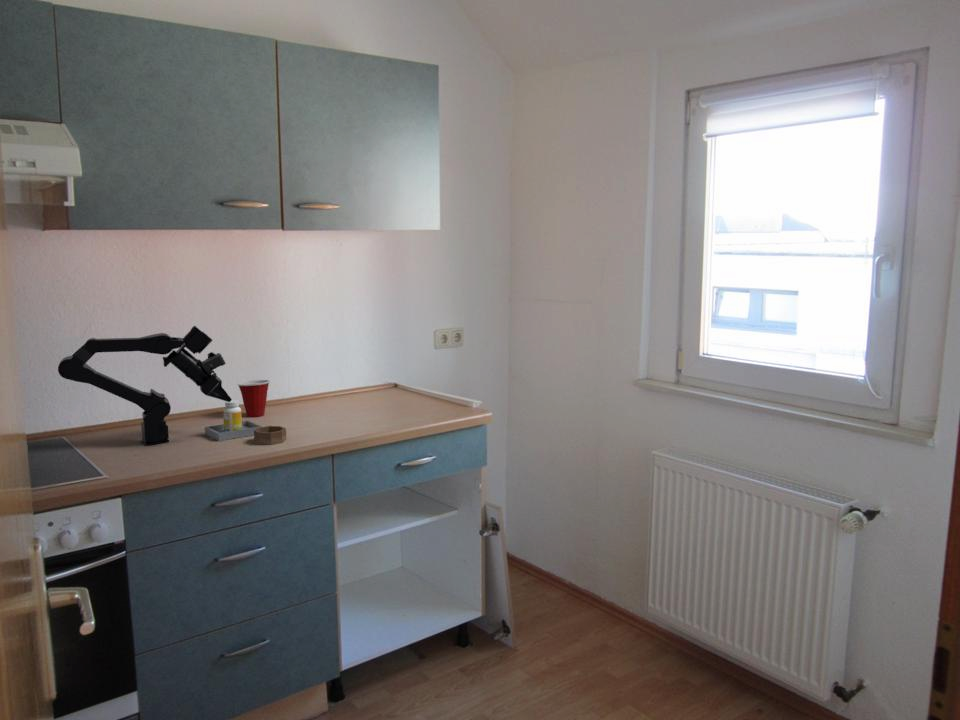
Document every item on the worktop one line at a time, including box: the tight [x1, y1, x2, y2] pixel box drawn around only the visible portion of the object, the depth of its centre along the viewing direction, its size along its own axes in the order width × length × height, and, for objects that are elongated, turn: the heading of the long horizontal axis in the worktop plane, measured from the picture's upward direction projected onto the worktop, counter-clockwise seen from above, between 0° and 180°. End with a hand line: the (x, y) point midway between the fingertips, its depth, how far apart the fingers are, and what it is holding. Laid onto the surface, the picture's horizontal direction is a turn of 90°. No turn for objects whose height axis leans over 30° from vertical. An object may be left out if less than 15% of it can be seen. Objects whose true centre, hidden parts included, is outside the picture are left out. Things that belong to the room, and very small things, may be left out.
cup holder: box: [253, 425, 287, 446], centre depth 230 cm, size 9×9×4 cm
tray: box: [204, 419, 264, 442], centre depth 238 cm, size 14×11×2 cm
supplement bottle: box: [222, 399, 243, 432], centre depth 237 cm, size 5×5×10 cm
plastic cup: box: [236, 379, 270, 418], centre depth 262 cm, size 11×11×12 cm
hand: (228, 398), depth 236 cm, fingers open, 9 cm apart
